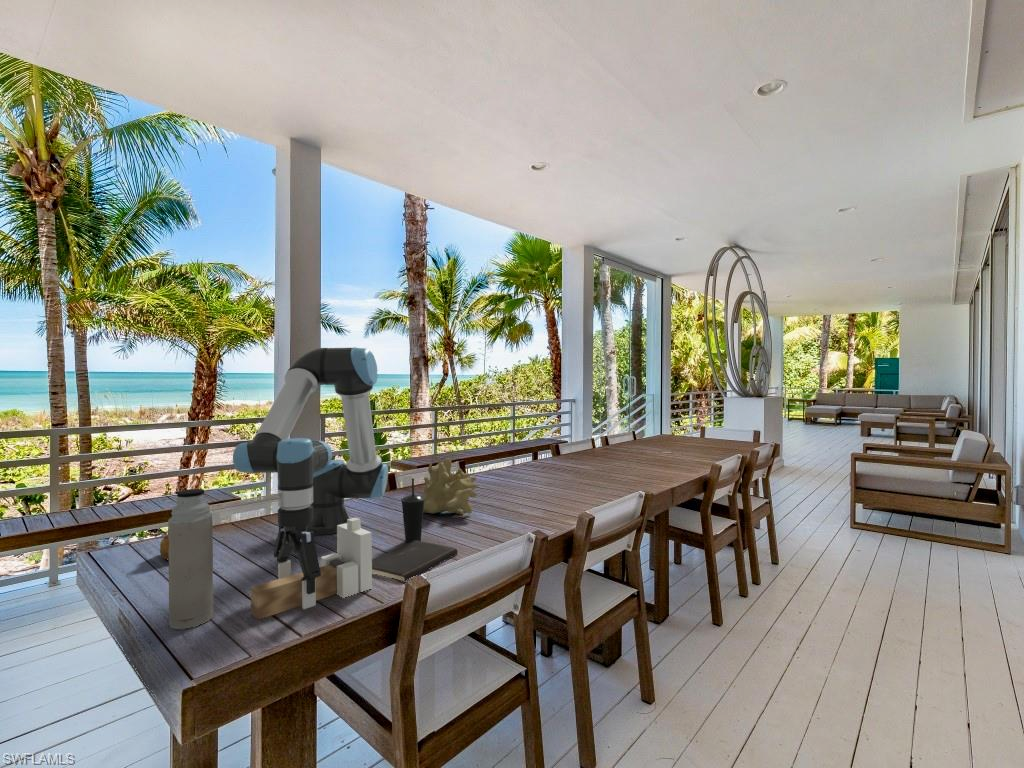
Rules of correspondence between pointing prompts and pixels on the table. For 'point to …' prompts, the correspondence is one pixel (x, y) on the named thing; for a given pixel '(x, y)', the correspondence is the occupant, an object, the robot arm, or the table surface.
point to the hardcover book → (411, 559)
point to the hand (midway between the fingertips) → (296, 597)
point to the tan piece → (291, 591)
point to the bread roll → (164, 548)
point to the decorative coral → (448, 489)
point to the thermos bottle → (190, 561)
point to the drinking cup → (413, 515)
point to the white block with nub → (352, 558)
